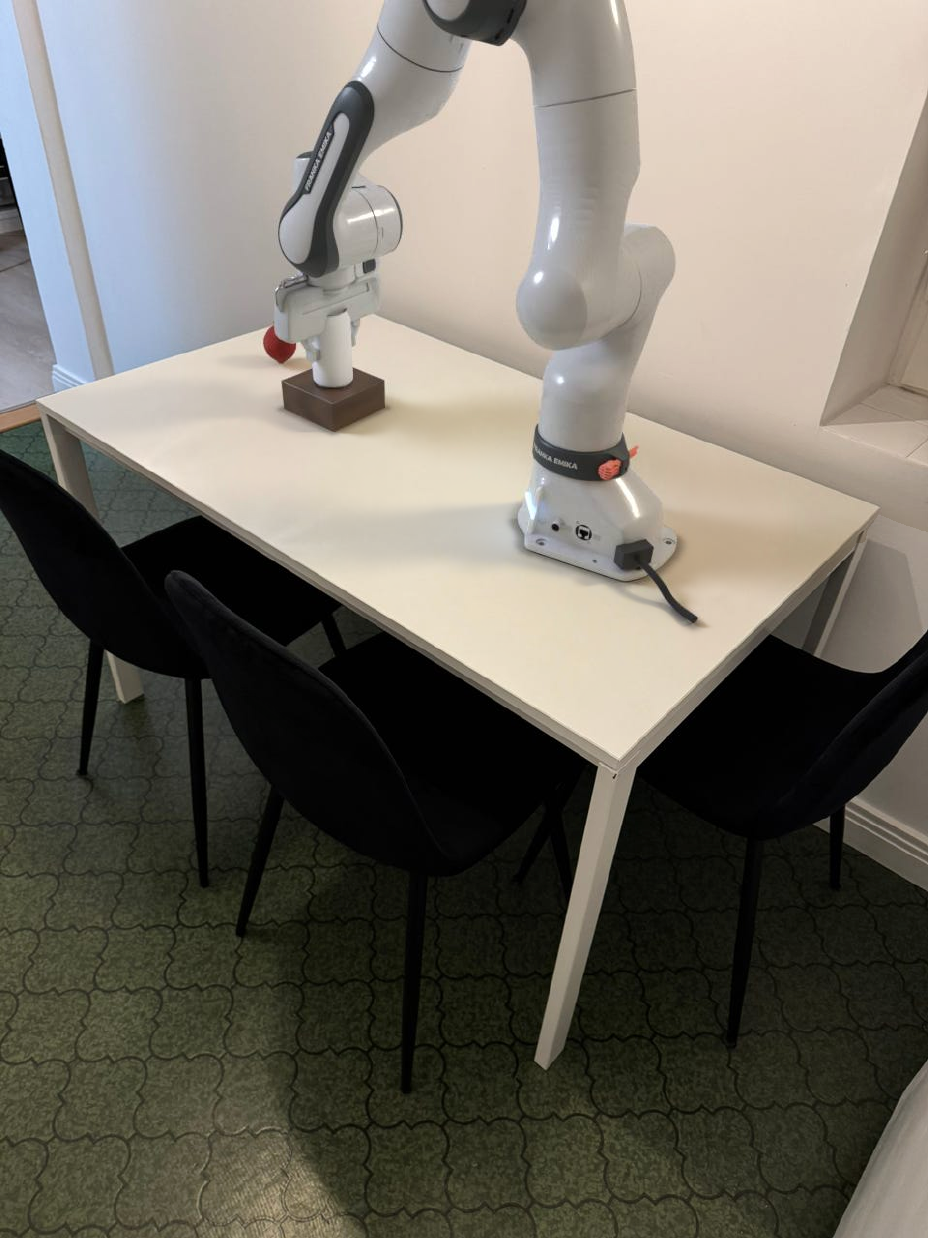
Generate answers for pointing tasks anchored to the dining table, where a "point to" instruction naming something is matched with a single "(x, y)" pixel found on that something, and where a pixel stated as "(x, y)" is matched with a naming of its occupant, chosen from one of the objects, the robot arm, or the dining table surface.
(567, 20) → the robot arm
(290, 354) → the onion
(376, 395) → the brown square block
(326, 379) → the can
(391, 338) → the dining table surface
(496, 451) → the dining table surface
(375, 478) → the dining table surface
